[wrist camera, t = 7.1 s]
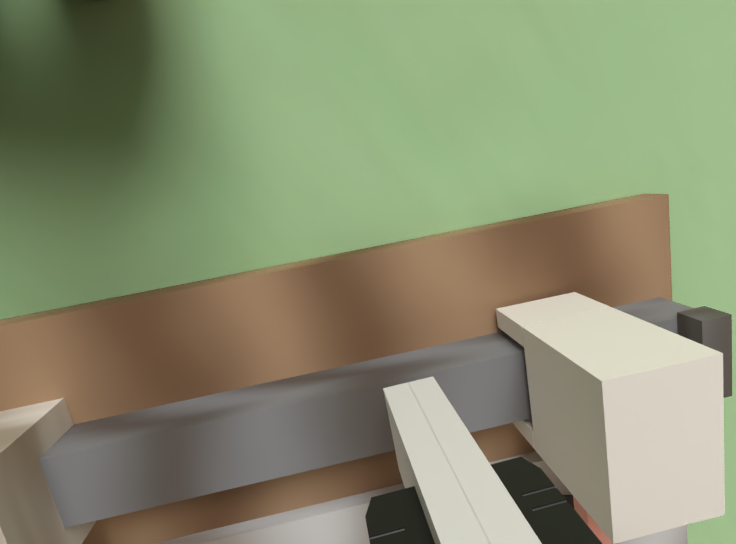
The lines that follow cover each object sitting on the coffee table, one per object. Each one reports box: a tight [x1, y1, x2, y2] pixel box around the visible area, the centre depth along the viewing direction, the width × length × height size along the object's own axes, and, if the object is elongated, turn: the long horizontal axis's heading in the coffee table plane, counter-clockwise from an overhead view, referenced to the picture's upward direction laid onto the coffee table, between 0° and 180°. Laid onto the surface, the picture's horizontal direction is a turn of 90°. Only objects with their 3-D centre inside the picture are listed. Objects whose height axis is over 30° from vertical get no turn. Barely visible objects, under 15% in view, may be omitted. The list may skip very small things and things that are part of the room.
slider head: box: [496, 292, 725, 544], centre depth 14 cm, size 3×10×6 cm, turn 10°
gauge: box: [0, 194, 732, 544], centre depth 16 cm, size 25×16×5 cm, turn 100°
